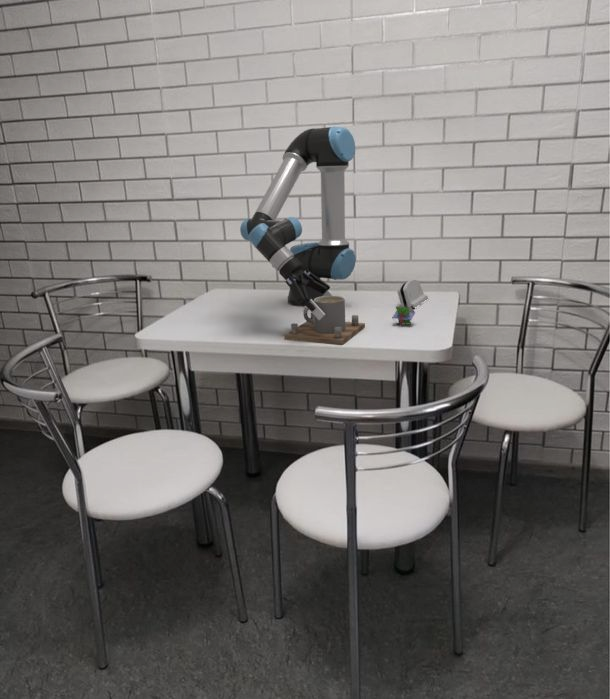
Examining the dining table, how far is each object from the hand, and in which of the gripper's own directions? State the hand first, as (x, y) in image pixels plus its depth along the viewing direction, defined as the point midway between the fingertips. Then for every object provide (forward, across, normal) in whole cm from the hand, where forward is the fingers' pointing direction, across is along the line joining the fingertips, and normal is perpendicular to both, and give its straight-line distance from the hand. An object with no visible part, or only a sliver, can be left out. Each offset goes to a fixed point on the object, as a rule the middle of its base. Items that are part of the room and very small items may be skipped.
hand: (330, 312), depth 195 cm
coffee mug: (+3, 0, -6) cm, 6 cm away
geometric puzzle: (+19, -17, +8) cm, 27 cm away
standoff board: (+4, 0, -7) cm, 8 cm away
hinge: (+15, -46, +4) cm, 49 cm away
